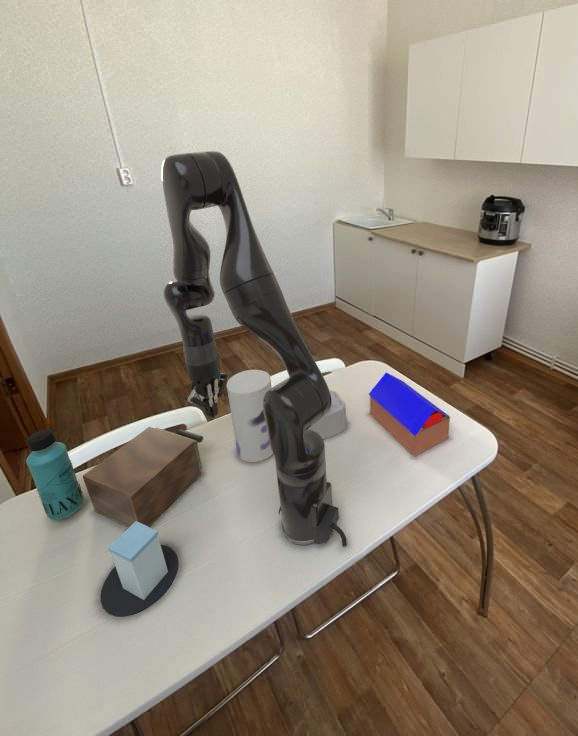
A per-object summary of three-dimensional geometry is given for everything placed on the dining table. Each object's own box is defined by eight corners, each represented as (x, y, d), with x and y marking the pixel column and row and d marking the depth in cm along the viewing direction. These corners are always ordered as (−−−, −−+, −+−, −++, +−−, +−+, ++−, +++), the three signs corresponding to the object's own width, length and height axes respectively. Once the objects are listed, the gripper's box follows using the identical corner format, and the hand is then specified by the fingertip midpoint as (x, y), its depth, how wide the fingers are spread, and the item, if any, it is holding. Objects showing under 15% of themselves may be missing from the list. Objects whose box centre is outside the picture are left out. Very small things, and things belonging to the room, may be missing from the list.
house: (401, 399, 115) (402, 365, 110) (449, 439, 99) (453, 401, 95) (368, 413, 109) (368, 378, 105) (414, 458, 93) (415, 418, 89)
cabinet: (157, 458, 94) (149, 426, 90) (201, 475, 89) (194, 441, 85) (94, 511, 80) (82, 475, 77) (142, 534, 75) (130, 496, 72)
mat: (192, 558, 70) (192, 557, 70) (135, 629, 60) (134, 628, 60) (145, 536, 75) (145, 535, 75) (84, 599, 64) (83, 597, 64)
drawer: (176, 441, 98) (170, 416, 95) (215, 454, 93) (210, 428, 91) (106, 500, 82) (96, 471, 79) (149, 519, 77) (140, 489, 74)
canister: (169, 571, 68) (157, 531, 65) (143, 601, 64) (130, 559, 60) (148, 560, 70) (136, 520, 66) (122, 588, 65) (107, 547, 62)
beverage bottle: (42, 530, 76) (9, 450, 69) (57, 502, 82) (28, 427, 75) (79, 521, 78) (50, 443, 71) (92, 495, 84) (66, 421, 77)
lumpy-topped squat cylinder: (350, 430, 102) (349, 403, 99) (303, 446, 97) (301, 418, 94) (335, 408, 111) (333, 383, 108) (291, 422, 106) (289, 395, 103)
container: (268, 465, 91) (259, 394, 84) (229, 459, 93) (218, 390, 86) (284, 436, 100) (277, 371, 93) (249, 432, 102) (239, 367, 95)
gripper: (193, 373, 86) (205, 435, 92) (232, 347, 98) (241, 404, 104) (168, 367, 89) (182, 428, 95) (208, 342, 100) (218, 398, 106)
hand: (212, 415), depth 99 cm, fingers closed
